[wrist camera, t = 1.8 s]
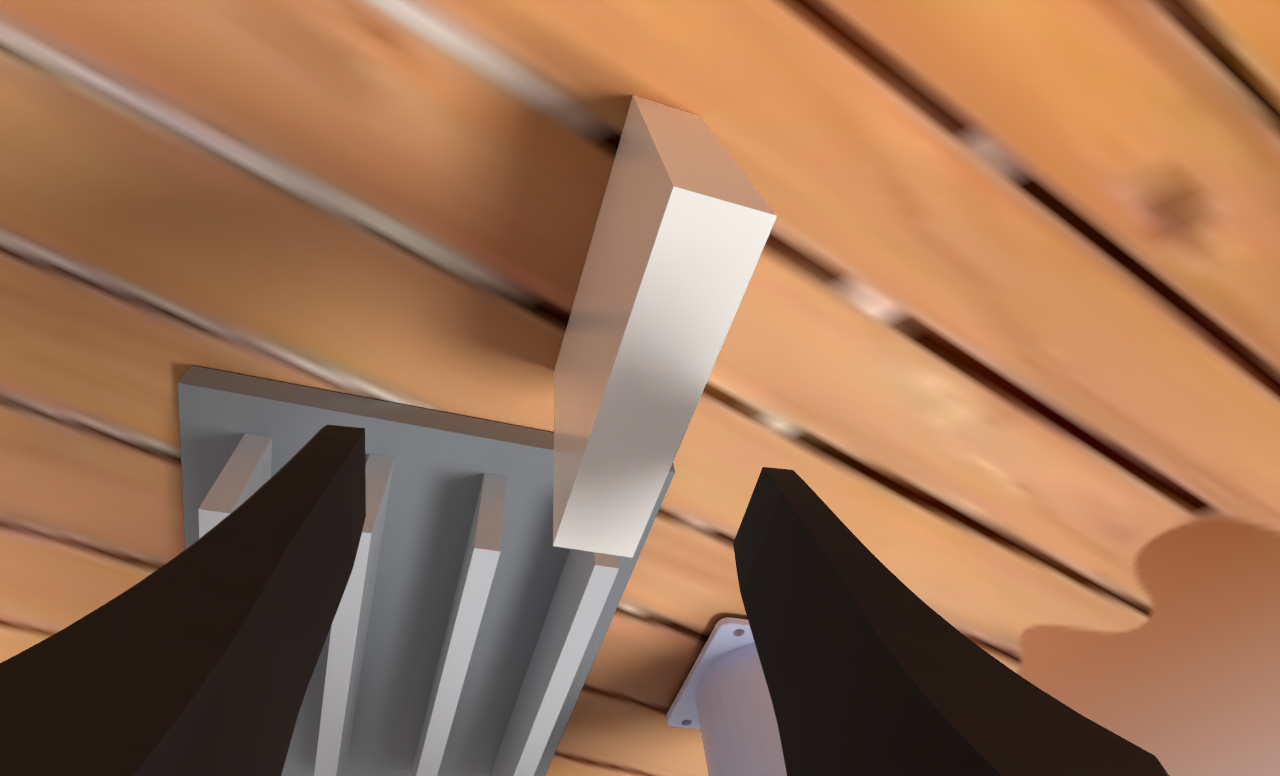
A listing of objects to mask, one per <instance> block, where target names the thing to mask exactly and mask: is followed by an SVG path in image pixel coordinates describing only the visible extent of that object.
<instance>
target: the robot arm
mask: <svg viewBox="0 0 1280 776" xmlns="http://www.w3.org/2000/svg"><path fill="white" fill-rule="evenodd" d="M365 518H366V475H365V428H358V427H348V426H337V425H326V426H324V427H323V428H322V429H320V430H319V431H318V432H317V433H316V434H315V435H314V436H313V437H312V438H311V439H310V440H309V441H308V442H307V443H306V444H305V445H304V446H303V447H302V448H301V449H300V450H299V451H298V452H297V453H296V454H295V455H294V456H293V457H292V458H291V459H290V460H289V461H288V462H287V463H286V464H285V465H284V466H283V467H282V468H281V469H280V470H279V471H278V472H277V473H276V474H275V475H274V476H273V477H271V478H270V479H269V480H268V481H267V482H266V483H265V484H264V485H263V486H261V487H260V488H259V489H258V490H257V491H256V492H255V493H254V494H253V495H252V496H250V497H249V498H248V499H247V500H246V501H245V502H244V503H243V504H241V505H240V506H239V507H238V508H237V509H236V510H234V511H233V512H232V513H231V514H230V515H228V516H227V517H226V518H225V519H223V520H222V521H221V522H220V523H218V524H217V525H216V526H215V527H213V528H212V529H211V530H210V531H209V532H207V533H206V534H205V535H204V536H202V537H201V538H200V539H199V540H197V541H196V542H195V543H194V544H192V545H191V546H190V547H188V548H187V549H186V550H184V551H183V552H182V553H180V554H179V555H178V556H176V557H175V558H173V559H172V560H171V561H169V562H168V563H167V564H165V565H164V566H162V567H161V568H159V569H158V570H157V571H155V572H154V573H152V574H151V575H149V576H148V577H146V578H145V579H143V580H142V581H141V582H139V583H138V584H136V585H135V586H133V587H132V588H130V589H128V590H127V591H125V592H124V593H122V594H121V595H119V596H117V597H116V598H114V599H113V600H111V601H109V602H108V603H106V604H105V605H103V606H101V607H100V608H98V609H97V610H95V611H93V612H92V613H90V614H88V615H87V616H85V617H83V618H82V619H80V620H78V621H77V622H75V623H73V624H72V625H70V626H68V627H67V628H65V629H63V630H61V631H60V632H58V633H56V634H54V635H53V636H51V637H49V638H47V639H45V640H43V641H42V642H40V643H38V644H36V645H34V646H32V647H30V648H29V649H27V650H25V651H23V652H21V653H19V654H18V655H16V656H14V657H12V658H10V659H8V660H6V661H4V662H2V663H0V776H281V775H282V771H283V768H284V764H285V760H286V757H287V753H288V749H289V746H290V742H291V739H292V735H293V731H294V728H295V724H296V721H297V717H298V714H299V711H300V708H301V705H302V702H303V699H304V696H305V693H306V690H307V687H308V685H309V682H310V679H311V677H312V674H313V672H314V669H315V666H316V664H317V661H318V659H319V656H320V653H321V651H322V648H323V646H324V643H325V641H326V638H327V635H328V633H329V630H330V628H331V625H332V622H333V620H334V617H335V615H336V612H337V609H338V607H339V604H340V602H341V599H342V596H343V594H344V591H345V588H346V586H347V583H348V580H349V578H350V575H351V572H352V570H353V566H354V562H355V558H356V554H357V551H358V547H359V543H360V538H361V534H362V530H363V526H364V522H365ZM733 545H734V552H735V560H736V567H737V574H738V580H739V586H740V592H741V596H742V600H743V603H744V607H745V611H746V614H747V618H748V620H746V619H739V618H731V617H726V618H723V619H721V620H719V621H718V622H717V623H716V625H715V627H714V629H713V631H712V633H711V634H710V636H709V638H708V640H707V642H706V644H705V645H704V647H703V649H702V651H701V653H700V654H699V656H698V658H697V660H696V662H695V664H694V665H693V667H692V669H691V671H690V673H689V675H688V676H687V678H686V680H685V682H684V684H683V685H682V687H681V689H680V691H679V693H678V695H677V696H676V698H675V700H674V702H673V704H672V705H671V707H670V709H669V711H668V713H667V715H666V719H667V723H668V725H670V726H672V727H681V728H693V729H701V734H702V739H703V745H704V751H705V756H706V762H707V768H708V773H709V776H1169V775H1168V773H1167V772H1166V770H1165V769H1164V768H1163V766H1162V765H1161V763H1160V762H1159V760H1158V759H1157V758H1156V757H1155V756H1154V755H1152V754H1151V753H1149V752H1147V751H1145V750H1143V749H1141V748H1140V747H1138V746H1136V745H1134V744H1133V743H1131V742H1129V741H1127V740H1125V739H1123V738H1122V737H1120V736H1118V735H1116V734H1114V733H1113V732H1111V731H1109V730H1107V729H1106V728H1103V727H1102V726H1100V725H1098V724H1097V723H1095V722H1093V721H1091V720H1089V719H1088V718H1086V717H1084V716H1082V715H1081V714H1079V713H1077V712H1076V711H1074V710H1073V709H1071V708H1069V707H1068V706H1066V705H1065V704H1063V703H1061V702H1060V701H1058V700H1057V699H1055V698H1053V697H1052V696H1050V695H1049V694H1047V693H1045V692H1043V691H1042V690H1040V689H1039V688H1037V687H1036V686H1034V685H1033V684H1031V683H1030V682H1028V681H1027V680H1025V679H1024V678H1022V677H1021V676H1019V675H1018V674H1016V673H1015V672H1014V671H1012V670H1011V669H1009V668H1008V667H1006V666H1005V665H1004V664H1002V663H1001V662H1000V661H998V660H997V659H995V658H994V657H993V656H991V655H990V654H988V653H987V652H986V651H984V650H983V649H981V648H980V647H979V646H977V645H976V644H975V643H973V642H972V641H971V640H969V639H968V638H967V637H966V636H964V635H963V634H962V633H960V632H959V631H958V630H957V629H955V628H954V627H953V626H952V625H951V624H949V623H948V622H947V621H946V620H944V619H943V618H942V617H941V616H940V615H938V614H937V613H936V612H935V611H934V610H932V609H931V608H930V607H929V606H927V605H926V604H925V603H924V602H923V601H922V600H921V599H920V598H918V597H917V596H916V595H915V594H914V593H913V592H912V591H911V590H910V589H908V588H907V587H906V586H905V585H904V584H903V583H902V582H901V581H900V580H899V579H898V578H897V577H896V576H895V575H894V574H893V573H891V572H890V571H889V570H888V569H887V568H886V567H885V566H884V565H883V564H882V563H881V562H880V561H879V560H878V559H877V558H876V557H875V556H874V555H873V554H872V553H871V552H870V551H869V550H868V549H867V548H866V547H865V546H864V545H863V544H862V543H861V542H860V541H859V540H858V539H857V537H856V536H855V535H854V534H853V533H852V532H851V531H850V530H849V529H848V528H847V527H846V526H845V525H844V524H843V523H842V522H841V521H840V519H839V518H838V517H837V516H836V515H835V514H834V513H833V512H832V511H831V510H830V509H829V508H828V506H827V505H826V504H825V503H824V502H823V501H822V500H821V499H820V498H819V497H818V496H817V495H816V493H815V492H814V491H813V490H812V489H811V488H810V487H809V486H808V485H807V484H806V483H805V482H804V481H803V480H802V479H801V478H800V477H799V476H798V475H797V474H796V473H795V472H794V471H793V470H787V469H777V468H767V467H763V468H762V471H761V473H760V476H759V478H758V481H757V483H756V486H755V489H754V491H753V494H752V496H751V499H750V502H749V504H748V507H747V509H746V512H745V515H744V517H743V520H742V522H741V525H740V528H739V530H738V533H737V535H736V538H735V541H734V543H733Z"/></svg>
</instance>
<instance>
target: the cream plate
mask: <svg viewBox="0 0 1280 776" xmlns="http://www.w3.org/2000/svg"><path fill="white" fill-rule="evenodd" d="M776 217H777V215H776V214H775V212H774V211H773V210H772V209H771V207H770V206H769V205H768V203H767V202H766V201H765V199H764V198H763V197H762V195H761V194H760V193H759V191H758V190H757V189H756V187H755V186H754V185H753V183H752V182H751V181H750V179H749V178H748V177H747V176H746V174H745V173H744V172H743V170H742V169H741V168H740V166H739V165H738V164H737V162H736V161H735V160H734V158H733V157H732V156H731V154H730V153H729V152H728V150H727V149H726V148H725V146H724V145H723V144H722V143H721V141H720V140H719V139H718V137H717V136H716V135H715V133H714V132H713V131H712V129H711V128H710V127H709V125H708V124H707V123H706V121H705V120H704V119H703V117H702V116H698V115H695V114H692V113H689V112H686V111H683V110H679V109H676V108H673V107H670V106H667V105H663V104H660V103H657V102H654V101H651V100H648V99H644V98H641V97H638V96H635V95H633V96H632V100H631V103H630V107H629V110H628V114H627V117H626V121H625V124H624V128H623V131H622V135H621V138H620V142H619V145H618V149H617V152H616V156H615V160H614V163H613V167H612V170H611V174H610V177H609V181H608V184H607V188H606V191H605V195H604V198H603V202H602V205H601V209H600V212H599V216H598V219H597V223H596V226H595V230H594V233H593V237H592V240H591V244H590V247H589V251H588V254H587V258H586V261H585V265H584V268H583V272H582V275H581V279H580V282H579V286H578V289H577V293H576V296H575V300H574V303H573V307H572V310H571V314H570V317H569V321H568V324H567V328H566V331H565V335H564V338H563V342H562V345H561V349H560V352H559V356H558V359H557V363H556V366H555V370H554V478H553V546H555V547H562V548H569V549H576V550H583V551H590V552H597V553H604V554H611V555H617V556H624V557H631V558H633V555H634V553H635V551H636V548H637V546H638V543H639V541H640V539H641V536H642V534H643V532H644V529H645V527H646V525H647V522H648V520H649V517H650V515H651V513H652V510H653V508H654V506H655V503H656V501H657V498H658V496H659V494H660V491H661V489H662V487H663V484H664V482H665V480H666V477H667V475H668V472H669V470H670V468H671V465H672V463H673V461H674V458H675V456H676V454H677V451H678V449H679V446H680V444H681V442H682V439H683V437H684V435H685V432H686V430H687V428H688V425H689V423H690V420H691V418H692V416H693V413H694V411H695V409H696V406H697V404H698V401H699V399H700V397H701V394H702V392H703V390H704V387H705V385H706V383H707V380H708V378H709V375H710V373H711V371H712V368H713V366H714V364H715V361H716V359H717V357H718V354H719V352H720V349H721V347H722V345H723V342H724V340H725V338H726V335H727V333H728V331H729V328H730V326H731V323H732V321H733V319H734V316H735V314H736V312H737V309H738V307H739V304H740V302H741V300H742V297H743V295H744V293H745V290H746V288H747V286H748V283H749V281H750V278H751V276H752V274H753V271H754V269H755V267H756V264H757V262H758V260H759V257H760V255H761V252H762V250H763V248H764V245H765V243H766V241H767V238H768V236H769V234H770V231H771V229H772V226H773V224H774V222H775V219H776Z"/></svg>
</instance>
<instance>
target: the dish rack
mask: <svg viewBox="0 0 1280 776" xmlns="http://www.w3.org/2000/svg"><path fill="white" fill-rule="evenodd" d="M178 403H179V425H180V447H181V469H182V491H183V513H184V535H185V550H186V549H187V548H188V547H190V546H191V545H192V544H194V543H195V542H196V541H197V540H199V539H200V538H201V537H202V536H204V535H205V534H206V533H207V532H209V531H210V530H211V529H212V528H213V527H215V526H216V525H217V524H218V523H220V522H221V521H222V520H223V519H225V518H226V517H227V516H228V515H230V514H231V513H232V512H233V511H234V510H236V509H237V508H238V507H239V506H240V505H241V504H243V503H244V502H245V501H246V500H247V499H248V498H249V497H250V496H252V495H253V494H254V493H255V492H256V491H257V490H258V489H259V488H260V487H261V486H263V485H264V484H265V483H266V482H267V481H268V480H269V479H270V478H271V477H273V476H274V475H275V474H276V473H277V472H278V471H279V470H280V469H281V468H282V467H283V466H284V465H285V464H286V463H287V462H288V461H289V460H290V459H291V458H292V457H293V456H294V455H295V454H296V453H297V452H298V451H299V450H300V449H301V448H302V447H303V446H304V445H305V444H306V443H307V442H308V441H309V440H310V439H311V438H312V437H313V436H314V435H315V434H316V433H317V432H318V431H319V430H320V429H322V428H323V427H324V426H326V425H337V426H348V427H358V428H365V475H366V518H365V522H364V526H363V530H362V534H361V538H360V543H359V547H358V551H357V554H356V558H355V562H354V566H353V570H352V572H351V575H350V578H349V580H348V583H347V586H346V588H345V591H344V594H343V596H342V599H341V602H340V604H339V607H338V609H337V612H336V615H335V617H334V620H333V622H332V625H331V628H330V630H329V633H328V635H327V638H326V641H325V643H324V646H323V648H322V651H321V653H320V656H319V659H318V661H317V664H316V666H315V669H314V672H313V674H312V677H311V679H310V682H309V685H308V687H307V690H306V693H305V696H304V699H303V702H302V705H301V708H300V711H299V714H298V717H297V721H296V724H295V728H294V731H293V735H292V739H291V742H290V746H289V749H288V753H287V757H286V760H285V764H284V768H283V771H282V775H281V776H545V774H546V772H547V769H548V767H549V765H550V762H551V760H552V758H553V755H554V753H555V751H556V748H557V746H558V744H559V741H560V739H561V737H562V734H563V732H564V730H565V727H566V725H567V723H568V720H569V718H570V716H571V713H572V711H573V709H574V706H575V704H576V702H577V699H578V697H579V695H580V692H581V690H582V688H583V685H584V683H585V681H586V678H587V676H588V674H589V671H590V669H591V667H592V664H593V662H594V660H595V657H596V655H597V653H598V650H599V648H600V646H601V643H602V641H603V639H604V636H605V634H606V632H607V629H608V627H609V625H610V622H611V620H612V618H613V615H614V613H615V611H616V608H617V606H618V604H619V601H620V599H621V597H622V594H623V592H624V590H625V587H626V585H627V583H628V580H629V578H630V576H631V573H632V571H633V569H634V566H635V564H636V562H637V559H638V557H639V555H640V552H641V550H642V548H643V545H644V543H645V541H646V538H647V536H648V534H649V531H650V529H651V527H652V524H653V522H654V520H655V517H656V515H657V513H658V510H659V508H660V506H661V503H662V501H663V499H664V496H665V494H666V492H667V489H668V487H669V485H670V482H671V480H672V478H673V475H674V473H675V470H674V465H673V463H672V465H671V468H670V470H669V472H668V475H667V477H666V480H665V482H664V484H663V487H662V489H661V491H660V494H659V496H658V498H657V501H656V503H655V506H654V508H653V510H652V513H651V515H650V517H649V520H648V522H647V525H646V527H645V529H644V532H643V534H642V536H641V539H640V541H639V543H638V546H637V548H636V551H635V553H634V555H633V558H631V557H624V556H617V555H611V554H604V553H597V552H590V551H583V550H576V549H569V548H562V547H555V546H553V478H554V433H553V432H547V431H542V430H537V429H531V428H526V427H521V426H515V425H510V424H504V423H499V422H494V421H488V420H483V419H478V418H472V417H467V416H461V415H456V414H451V413H445V412H440V411H434V410H429V409H424V408H418V407H413V406H408V405H402V404H397V403H391V402H386V401H381V400H375V399H370V398H365V397H359V396H354V395H348V394H343V393H338V392H332V391H327V390H322V389H316V388H311V387H305V386H300V385H295V384H289V383H284V382H278V381H273V380H268V379H262V378H257V377H252V376H246V375H241V374H235V373H230V372H225V371H219V370H214V369H209V368H203V367H198V366H191V367H190V369H189V370H188V371H187V372H186V373H185V375H184V376H183V377H182V378H181V379H180V380H179V382H178Z"/></svg>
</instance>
